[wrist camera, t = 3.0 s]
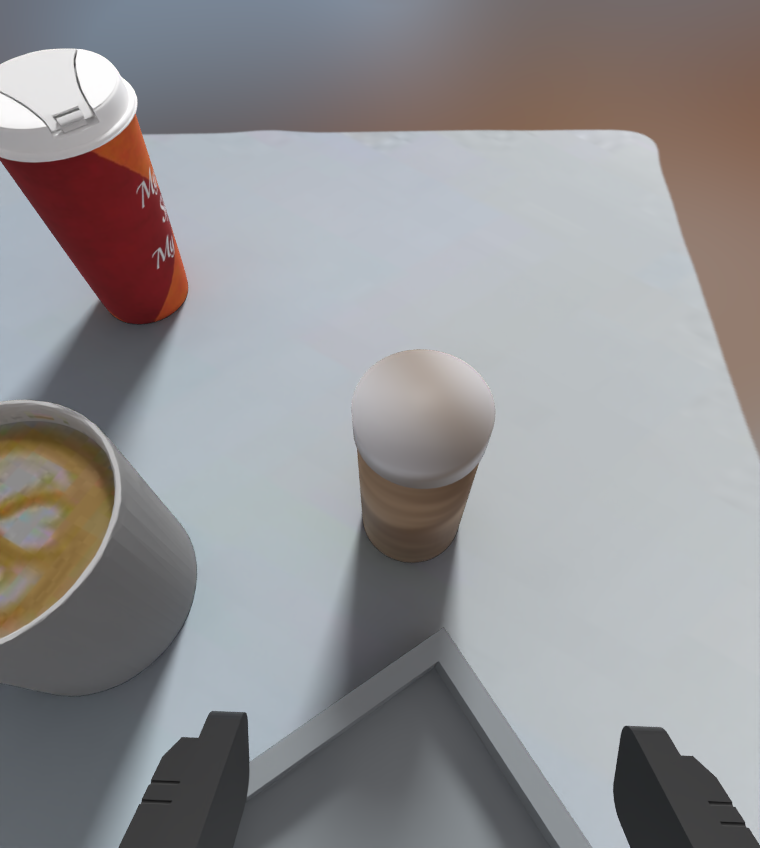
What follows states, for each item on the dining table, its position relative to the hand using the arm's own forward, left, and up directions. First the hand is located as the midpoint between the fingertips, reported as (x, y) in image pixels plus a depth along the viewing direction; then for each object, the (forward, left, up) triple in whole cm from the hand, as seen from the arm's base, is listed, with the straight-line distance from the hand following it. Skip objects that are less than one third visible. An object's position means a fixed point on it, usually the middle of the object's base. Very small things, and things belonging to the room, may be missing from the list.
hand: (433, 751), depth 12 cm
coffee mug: (-9, +16, -16) cm, 24 cm away
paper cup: (+1, +32, -15) cm, 36 cm away
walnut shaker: (+7, +9, -15) cm, 19 cm away
